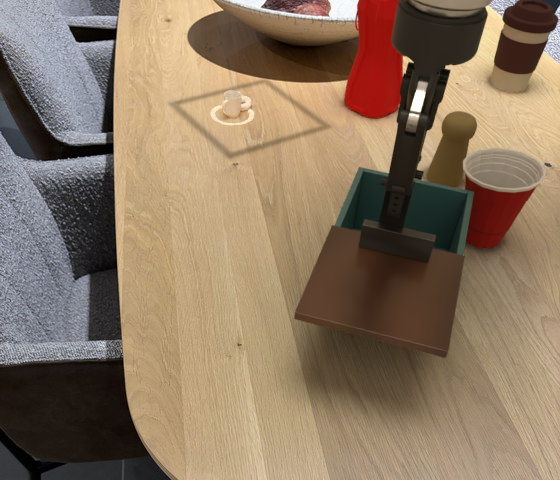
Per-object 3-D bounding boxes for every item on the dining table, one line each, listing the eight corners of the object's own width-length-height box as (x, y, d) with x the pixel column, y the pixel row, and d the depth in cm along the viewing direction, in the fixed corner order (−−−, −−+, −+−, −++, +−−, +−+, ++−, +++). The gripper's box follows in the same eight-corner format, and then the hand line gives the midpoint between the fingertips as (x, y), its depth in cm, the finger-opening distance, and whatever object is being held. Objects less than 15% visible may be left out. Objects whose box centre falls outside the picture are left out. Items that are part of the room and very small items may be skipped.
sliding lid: (462, 262, 69) (472, 233, 66) (445, 358, 59) (457, 330, 56) (330, 231, 71) (335, 202, 68) (293, 319, 62) (296, 290, 58)
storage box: (453, 252, 87) (474, 191, 79) (439, 324, 77) (461, 263, 69) (348, 227, 89) (358, 166, 81) (321, 295, 79) (331, 232, 72)
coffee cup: (538, 85, 124) (569, 4, 112) (522, 103, 118) (552, 19, 107) (493, 71, 127) (518, -9, 115) (475, 87, 121) (499, 5, 110)
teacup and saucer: (243, 101, 112) (243, 79, 109) (266, 120, 108) (267, 97, 105) (202, 112, 109) (201, 89, 106) (224, 132, 105) (224, 109, 102)
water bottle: (360, 88, 118) (384, -64, 99) (405, 110, 114) (439, -46, 95) (329, 102, 114) (348, -54, 95) (374, 125, 109) (403, -35, 90)
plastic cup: (448, 209, 94) (471, 136, 84) (518, 227, 91) (550, 155, 82) (434, 249, 87) (457, 175, 78) (509, 270, 85) (542, 196, 76)
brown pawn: (417, 178, 99) (434, 113, 90) (440, 166, 101) (458, 102, 93) (446, 195, 96) (466, 129, 88) (469, 182, 99) (490, 117, 90)
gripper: (412, -31, 55) (368, 195, 73) (385, 20, 46) (343, 260, 64) (495, -18, 53) (430, 208, 71) (483, 37, 45) (412, 277, 63)
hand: (389, 233), depth 68 cm, fingers closed
